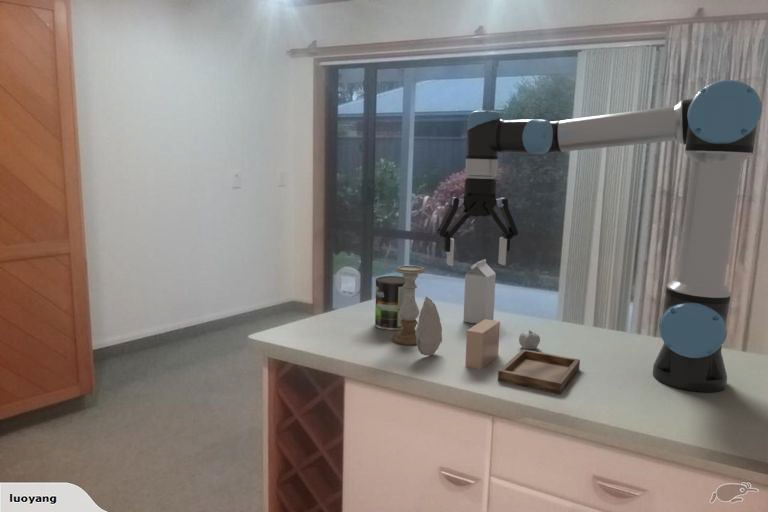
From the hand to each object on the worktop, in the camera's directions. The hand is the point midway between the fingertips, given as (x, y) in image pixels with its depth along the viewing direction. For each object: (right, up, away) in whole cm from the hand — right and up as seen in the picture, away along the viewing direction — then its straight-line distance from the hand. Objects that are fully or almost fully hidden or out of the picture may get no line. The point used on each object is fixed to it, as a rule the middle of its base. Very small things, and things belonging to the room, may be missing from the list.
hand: (476, 264), depth 142 cm
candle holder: (-16, -21, +17) cm, 31 cm away
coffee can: (-20, -19, +31) cm, 42 cm away
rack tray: (+14, -26, -7) cm, 30 cm away
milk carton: (+7, -18, +37) cm, 42 cm away
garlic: (+16, -23, +12) cm, 30 cm away
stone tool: (-11, -23, +5) cm, 26 cm away
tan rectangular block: (+2, -24, +2) cm, 24 cm away
